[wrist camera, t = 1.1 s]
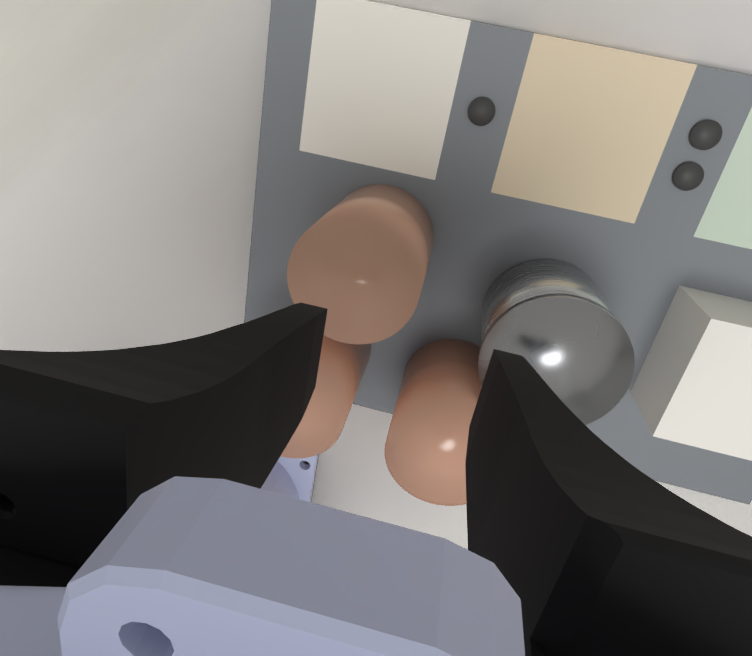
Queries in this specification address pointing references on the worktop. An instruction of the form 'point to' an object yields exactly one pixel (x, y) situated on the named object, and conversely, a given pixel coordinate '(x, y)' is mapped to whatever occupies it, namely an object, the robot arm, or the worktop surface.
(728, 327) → the white block
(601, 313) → the tin
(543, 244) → the board
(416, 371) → the tan rounded block
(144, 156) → the worktop surface
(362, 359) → the tan rounded block
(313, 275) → the tan rounded cylinder
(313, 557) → the robot arm
